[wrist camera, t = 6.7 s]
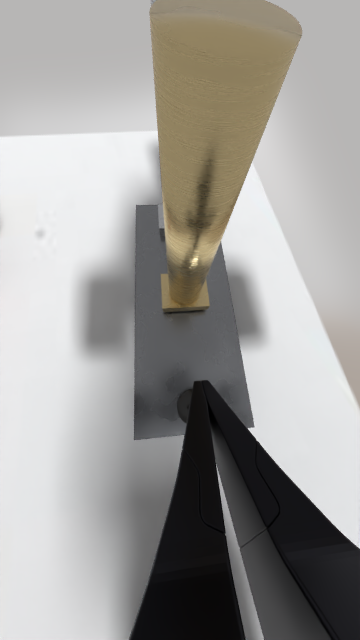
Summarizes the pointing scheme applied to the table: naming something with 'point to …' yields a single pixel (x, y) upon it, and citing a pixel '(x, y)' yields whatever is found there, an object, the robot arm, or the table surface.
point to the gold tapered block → (211, 121)
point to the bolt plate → (180, 340)
